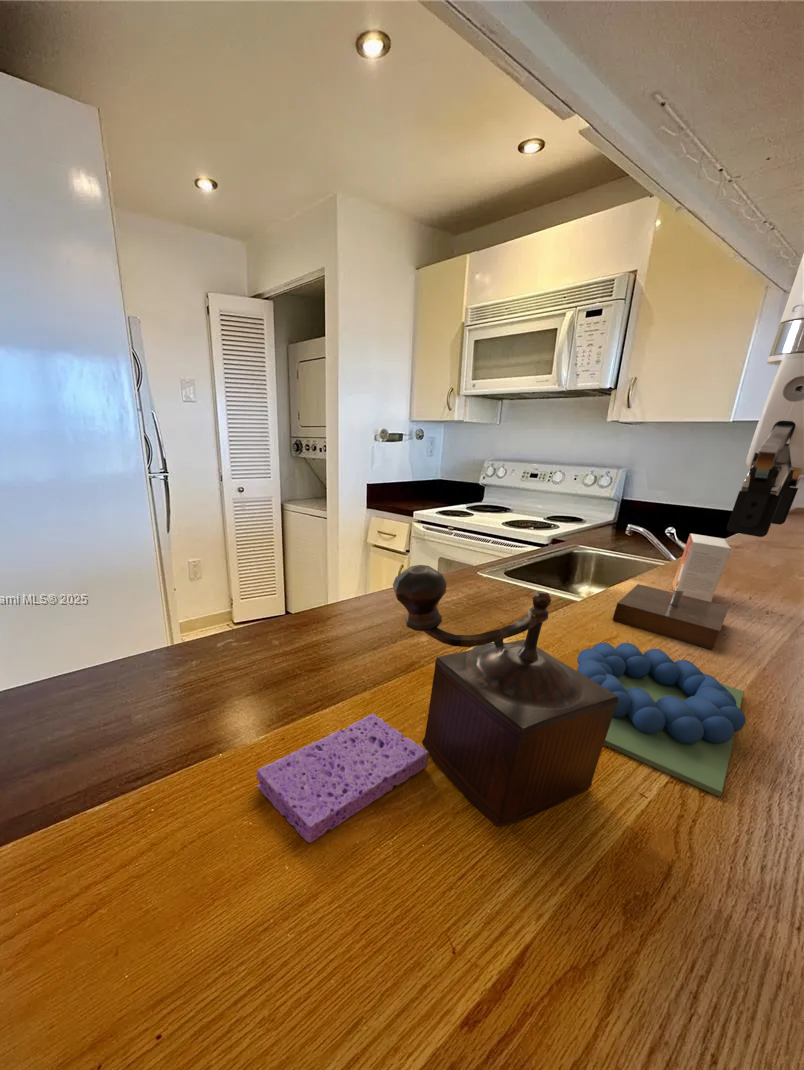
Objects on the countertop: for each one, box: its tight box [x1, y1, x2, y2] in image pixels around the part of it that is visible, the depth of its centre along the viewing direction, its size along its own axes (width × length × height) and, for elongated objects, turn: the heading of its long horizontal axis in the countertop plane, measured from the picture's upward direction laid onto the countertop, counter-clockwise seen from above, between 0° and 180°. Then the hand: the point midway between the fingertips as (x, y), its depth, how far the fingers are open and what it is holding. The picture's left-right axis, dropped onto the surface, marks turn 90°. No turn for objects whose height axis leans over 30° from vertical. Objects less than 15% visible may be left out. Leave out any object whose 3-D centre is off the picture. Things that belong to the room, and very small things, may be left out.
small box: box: [671, 533, 732, 602], centre depth 85 cm, size 8×6×10 cm
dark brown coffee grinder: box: [392, 564, 618, 828], centre depth 37 cm, size 16×11×18 cm
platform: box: [611, 583, 730, 651], centre depth 73 cm, size 13×13×6 cm
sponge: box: [256, 713, 429, 843], centre depth 39 cm, size 7×13×2 cm, turn 131°
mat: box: [603, 672, 745, 798], centre depth 52 cm, size 22×15×1 cm
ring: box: [576, 642, 746, 744], centre depth 52 cm, size 18×15×3 cm
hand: (755, 527), depth 50 cm, fingers open, 9 cm apart
